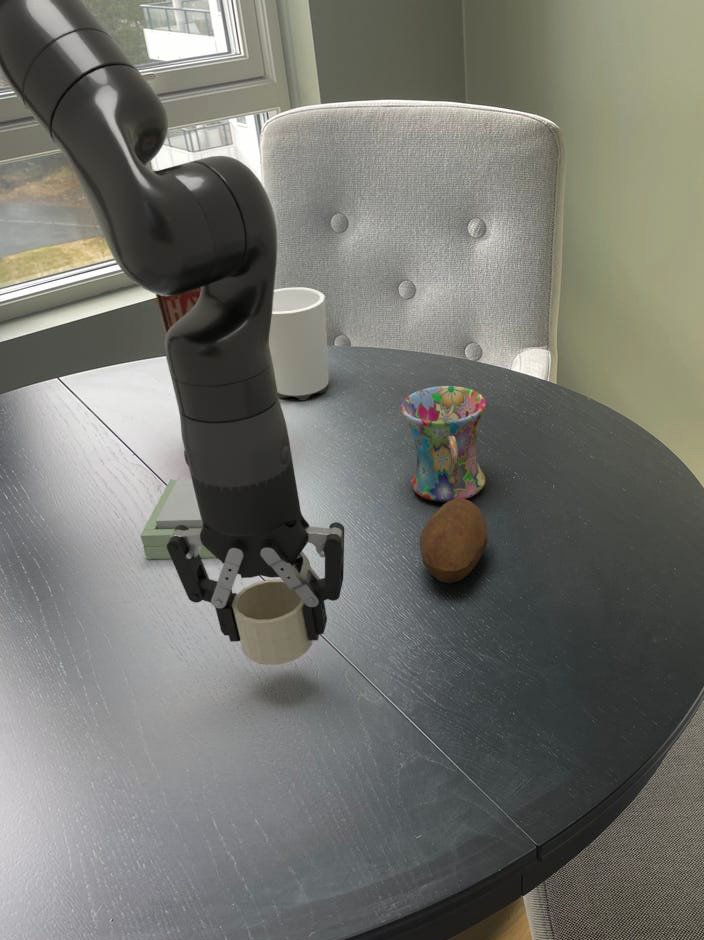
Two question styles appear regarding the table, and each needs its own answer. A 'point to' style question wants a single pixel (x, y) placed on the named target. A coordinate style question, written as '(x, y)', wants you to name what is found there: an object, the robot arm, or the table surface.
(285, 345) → the cup
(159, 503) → the scale
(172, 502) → the pan
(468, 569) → the potato
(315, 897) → the table surface
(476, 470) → the mug
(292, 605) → the beige round pot
